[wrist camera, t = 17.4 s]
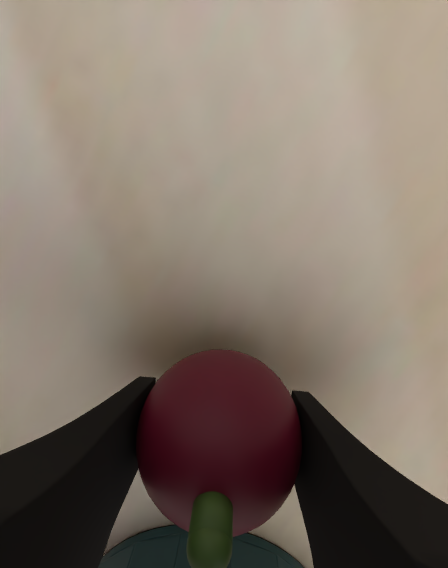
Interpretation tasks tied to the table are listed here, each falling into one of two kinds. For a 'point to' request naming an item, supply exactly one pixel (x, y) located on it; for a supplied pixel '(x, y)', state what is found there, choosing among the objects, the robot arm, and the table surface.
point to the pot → (173, 555)
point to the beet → (218, 449)
